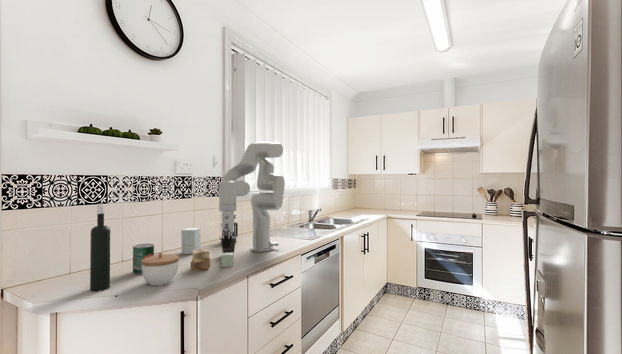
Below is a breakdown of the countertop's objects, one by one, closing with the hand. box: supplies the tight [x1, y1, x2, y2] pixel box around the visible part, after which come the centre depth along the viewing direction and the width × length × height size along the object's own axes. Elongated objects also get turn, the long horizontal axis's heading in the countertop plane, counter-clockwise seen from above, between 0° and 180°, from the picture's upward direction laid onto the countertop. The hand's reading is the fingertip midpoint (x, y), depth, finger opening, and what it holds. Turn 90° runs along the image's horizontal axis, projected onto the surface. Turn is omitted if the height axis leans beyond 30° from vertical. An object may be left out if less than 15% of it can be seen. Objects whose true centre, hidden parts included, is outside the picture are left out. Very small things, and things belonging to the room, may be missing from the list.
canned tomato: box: [132, 243, 155, 275], centre depth 128 cm, size 8×8×11 cm
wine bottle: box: [89, 203, 111, 292], centre depth 108 cm, size 6×6×30 cm
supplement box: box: [180, 227, 202, 255], centre depth 162 cm, size 7×7×13 cm
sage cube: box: [220, 252, 235, 268], centre depth 138 cm, size 5×5×5 cm
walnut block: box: [190, 257, 211, 272], centre depth 132 cm, size 7×7×4 cm
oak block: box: [191, 248, 210, 263], centre depth 132 cm, size 6×6×4 cm
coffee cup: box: [219, 236, 237, 254], centre depth 155 cm, size 8×8×10 cm
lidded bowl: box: [141, 252, 180, 286], centre depth 114 cm, size 13×13×11 cm
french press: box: [220, 214, 239, 245], centre depth 188 cm, size 12×9×23 cm
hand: (227, 245), depth 138 cm, fingers open, 9 cm apart
